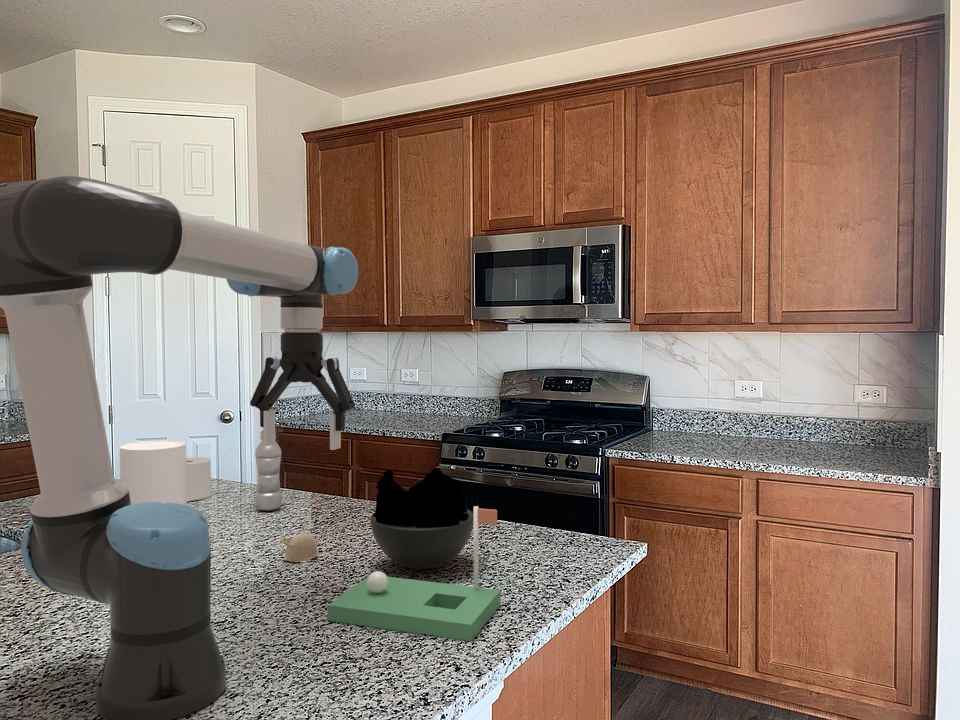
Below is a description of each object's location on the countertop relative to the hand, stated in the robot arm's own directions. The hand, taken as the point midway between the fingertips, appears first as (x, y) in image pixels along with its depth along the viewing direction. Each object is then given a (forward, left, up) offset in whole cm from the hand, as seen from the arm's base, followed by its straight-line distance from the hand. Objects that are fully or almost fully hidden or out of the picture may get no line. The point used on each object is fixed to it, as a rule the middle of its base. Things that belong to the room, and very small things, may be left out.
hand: (302, 447), depth 136 cm
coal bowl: (+13, -19, -25) cm, 33 cm away
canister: (+15, +47, -25) cm, 55 cm away
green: (-9, -27, -24) cm, 37 cm away
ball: (-9, -20, -20) cm, 29 cm away
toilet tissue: (+46, +63, -25) cm, 82 cm away
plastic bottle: (+41, +35, -25) cm, 59 cm away
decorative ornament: (+9, +6, -25) cm, 27 cm away
